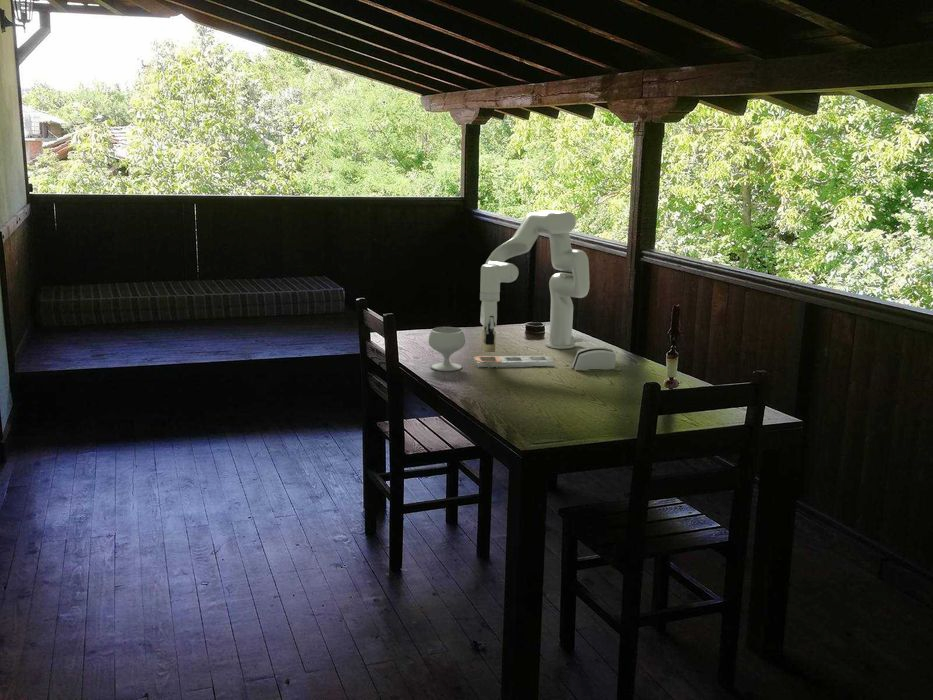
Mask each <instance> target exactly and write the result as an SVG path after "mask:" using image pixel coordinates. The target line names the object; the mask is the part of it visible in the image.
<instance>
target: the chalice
mask: <svg viewBox="0 0 933 700" xmlns="http://www.w3.org/2000/svg"><path fill="white" fill-rule="evenodd" d="M465 344H466V336H465V333H464V331H463V329H462V328H460V327H455V326H439V327H438V326H436V327H434V328H432V329H431V330H430V333H429V335H428V345H429V346H430V348H432V349H433V350H434V351H436V352H437V353H440V354H441V355H442V357H443V362H439V363H434V364H432V365H431V366H430V368H431V369H433V370H436V371H441V372H453V371H454V372H455V371H459V370H462V369H463V366H462V365H461V364H458V363H456V362H455V363H454V362H450V357H451V356H452V355H453V354H454V353H456V352H458V351H460V350H461V349H463V348H464V346H465Z"/></svg>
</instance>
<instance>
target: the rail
mask: <svg viewBox="0 0 933 700" xmlns="http://www.w3.org/2000/svg"><path fill="white" fill-rule="evenodd" d="M474 362H475V363H474ZM473 363H474V364H476V365H477V366H476V365H475V366H476V367H478V369H480V368H479V367H488V368H487V369H490V368H489V367H496V368H495V369H497V368H498V367H500V368H533V367H532V366H547V367H554V365H555V364H554V363H555V361H554V360H553V359H552V358H551V357H550V356H549V355H548V354H547V355H509V356H508V355H504V356H503V355H502V356H501V355H500V356H497V355H479V356H478V355H477V356H473Z"/></svg>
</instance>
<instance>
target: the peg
mask: <svg viewBox="0 0 933 700" xmlns="http://www.w3.org/2000/svg"><path fill="white" fill-rule="evenodd" d="M488 331H489V330H488ZM486 334H487V330H484V329H482V330H481V352H483V353H496V331H495V330H494V344H493V345H486Z"/></svg>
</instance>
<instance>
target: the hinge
mask: <svg viewBox="0 0 933 700" xmlns="http://www.w3.org/2000/svg"><path fill="white" fill-rule="evenodd" d="M616 358H617V357H616V353H615V352H614V350H612V349H611V348H608V347H602V346H593V347H587V348H582V349H580V350H577V352H576V354H575V357H574V360H573V362H572V363H571V366H570V367H573V368H572V369H573V370H574V369H575V370H583V371H589V370H588V369H603V370H615V369H616ZM575 370H574V371H575Z"/></svg>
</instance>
